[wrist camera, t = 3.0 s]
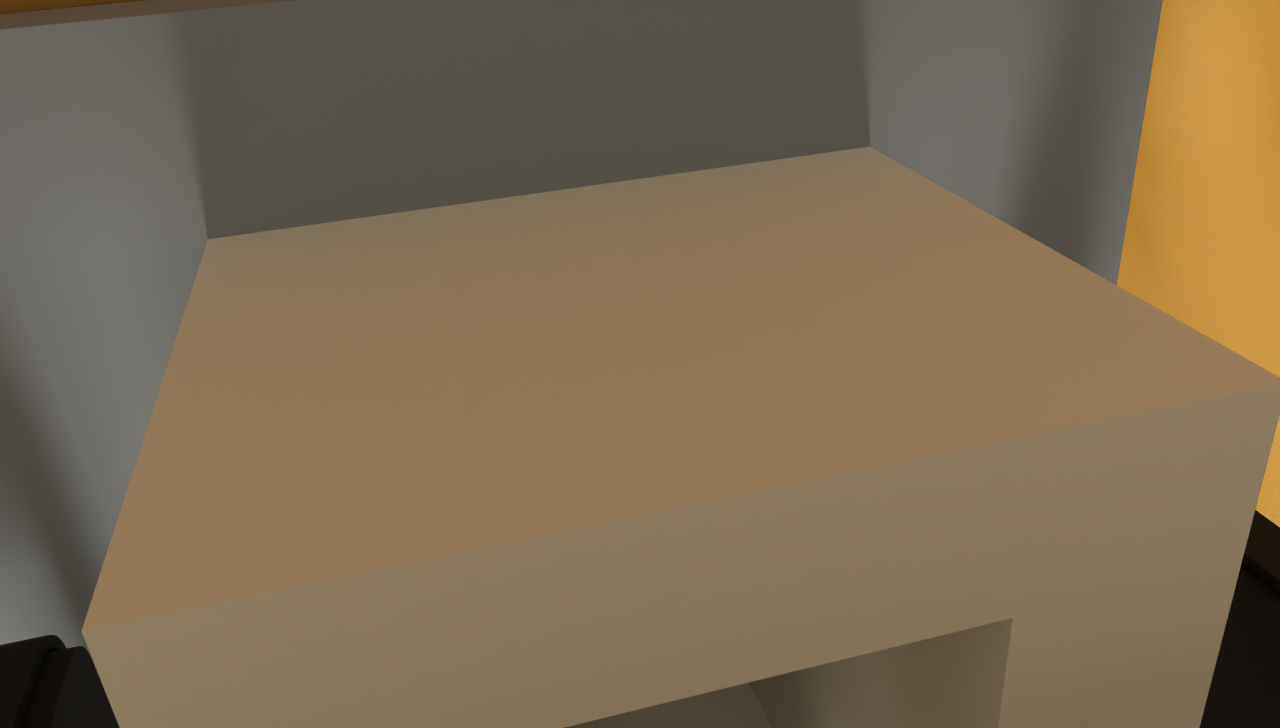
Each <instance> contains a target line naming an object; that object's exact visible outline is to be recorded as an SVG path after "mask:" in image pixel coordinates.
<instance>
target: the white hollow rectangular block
mask: <svg viewBox="0 0 1280 728" xmlns="http://www.w3.org/2000/svg"><path fill="white" fill-rule="evenodd" d="M1279 415H1280V377H1278V376H1276V375H1274V374H1273V373H1271V372H1269V371H1267V370H1265V369H1264V368H1262V367H1260V366H1258V365H1257V364H1255V363H1253V362H1251V361H1249V360H1248V359H1246V358H1244V357H1242V356H1241V355H1239V354H1237V353H1235V352H1234V351H1232V350H1230V349H1228V348H1226V347H1225V346H1223V345H1221V344H1219V343H1218V342H1216V341H1214V340H1212V339H1210V338H1209V337H1207V336H1205V335H1203V334H1202V333H1200V332H1198V331H1196V330H1195V329H1193V328H1191V327H1189V326H1187V325H1186V324H1184V323H1182V322H1180V321H1179V320H1177V319H1175V318H1173V317H1171V316H1170V315H1168V314H1166V313H1164V312H1163V311H1161V310H1159V309H1157V308H1156V307H1154V306H1152V305H1150V304H1148V303H1147V302H1145V301H1143V300H1141V299H1140V298H1138V297H1136V296H1134V295H1132V294H1131V293H1129V292H1127V291H1125V290H1124V289H1122V288H1120V287H1118V286H1117V285H1115V284H1113V283H1111V282H1109V281H1108V280H1106V279H1104V278H1102V277H1101V276H1099V275H1097V274H1095V273H1093V272H1092V271H1090V270H1088V269H1086V268H1085V267H1083V266H1081V265H1079V264H1078V263H1076V262H1074V261H1072V260H1070V259H1069V258H1067V257H1065V256H1063V255H1062V254H1060V253H1058V252H1056V251H1055V250H1053V249H1051V248H1049V247H1047V246H1046V245H1044V244H1042V243H1040V242H1039V241H1037V240H1035V239H1033V238H1031V237H1030V236H1028V235H1026V234H1024V233H1023V232H1021V231H1019V230H1017V229H1016V228H1014V227H1012V226H1010V225H1008V224H1007V223H1005V222H1003V221H1001V220H1000V219H998V218H996V217H994V216H992V215H991V214H989V213H987V212H985V211H984V210H982V209H980V208H978V207H977V206H975V205H973V204H971V203H969V202H968V201H966V200H964V199H962V198H961V197H959V196H957V195H955V194H953V193H952V192H950V191H948V190H946V189H945V188H943V187H941V186H939V185H938V184H936V183H934V182H932V181H930V180H929V179H927V178H925V177H923V176H922V175H920V174H918V173H916V172H914V171H913V170H911V169H909V168H907V167H906V166H904V165H902V164H900V163H899V162H897V161H895V160H893V159H891V158H890V157H888V156H886V155H884V154H883V153H881V152H879V151H877V150H875V149H874V148H872V147H863V148H856V149H849V150H842V151H835V152H828V153H820V154H813V155H806V156H799V157H792V158H785V159H778V160H771V161H763V162H756V163H749V164H742V165H735V166H728V167H721V168H713V169H706V170H699V171H692V172H685V173H678V174H671V175H663V176H656V177H649V178H642V179H635V180H628V181H621V182H614V183H606V184H599V185H592V186H585V187H578V188H571V189H564V190H556V191H549V192H542V193H535V194H528V195H521V196H514V197H506V198H499V199H492V200H485V201H478V202H471V203H464V204H457V205H449V206H442V207H435V208H428V209H421V210H414V211H407V212H399V213H392V214H385V215H378V216H371V217H364V218H357V219H350V220H342V221H335V222H328V223H321V224H314V225H307V226H300V227H292V228H285V229H278V230H271V231H264V232H257V233H250V234H242V235H235V236H228V237H221V238H214V239H208V241H207V244H206V247H205V250H204V253H203V256H202V259H201V262H200V265H199V269H198V272H197V275H196V278H195V281H194V284H193V287H192V290H191V293H190V296H189V300H188V303H187V306H186V309H185V312H184V315H183V318H182V321H181V324H180V327H179V331H178V334H177V337H176V340H175V343H174V346H173V349H172V352H171V355H170V358H169V361H168V365H167V368H166V371H165V374H164V377H163V380H162V383H161V386H160V389H159V392H158V396H157V399H156V402H155V405H154V408H153V411H152V414H151V417H150V420H149V423H148V427H147V430H146V433H145V436H144V439H143V442H142V445H141V448H140V451H139V454H138V457H137V461H136V464H135V467H134V470H133V473H132V476H131V479H130V482H129V485H128V488H127V492H126V495H125V498H124V501H123V504H122V507H121V510H120V513H119V516H118V519H117V523H116V526H115V529H114V532H113V535H112V538H111V541H110V544H109V547H108V550H107V554H106V557H105V560H104V563H103V566H102V569H101V572H100V575H99V578H98V581H97V584H96V588H95V591H94V594H93V597H92V600H91V603H90V606H89V609H88V612H87V615H86V619H85V622H84V625H83V628H82V631H81V632H82V634H83V637H84V639H85V642H86V644H87V646H88V649H89V651H90V654H91V656H92V659H93V661H94V664H95V666H96V669H97V671H98V674H99V676H100V679H101V681H102V684H103V686H104V689H105V691H106V694H107V696H108V699H109V701H110V704H111V706H112V708H113V711H114V713H115V716H116V718H117V721H118V723H119V726H120V728H564V727H569V726H573V725H577V724H581V723H585V722H589V721H593V720H597V719H601V718H605V717H609V716H614V715H618V714H622V713H626V712H630V711H634V710H638V709H642V708H646V707H650V706H654V705H659V704H663V703H667V702H671V701H675V700H679V699H683V698H687V697H691V696H695V695H699V694H704V693H708V692H712V691H716V690H720V689H724V688H728V687H732V686H736V685H740V684H744V683H750V685H751V687H752V689H753V691H754V693H755V695H756V697H757V699H758V701H759V703H760V705H761V707H762V709H763V711H764V713H765V715H766V717H767V719H768V721H769V723H770V725H771V727H772V728H1199V727H1200V723H1201V720H1202V716H1203V712H1204V708H1205V704H1206V700H1207V696H1208V692H1209V688H1210V684H1211V681H1212V677H1213V673H1214V669H1215V665H1216V661H1217V657H1218V653H1219V649H1220V645H1221V641H1222V638H1223V634H1224V630H1225V626H1226V622H1227V618H1228V614H1229V610H1230V606H1231V602H1232V598H1233V595H1234V591H1235V587H1236V583H1237V579H1238V575H1239V571H1240V567H1241V563H1242V559H1243V555H1244V552H1245V548H1246V544H1247V540H1248V536H1249V532H1250V528H1251V524H1252V520H1253V516H1254V512H1255V509H1256V505H1257V501H1258V497H1259V493H1260V489H1261V485H1262V481H1263V477H1264V473H1265V470H1266V466H1267V462H1268V458H1269V454H1270V450H1271V446H1272V442H1273V438H1274V434H1275V430H1276V427H1277V423H1278V419H1279Z"/></svg>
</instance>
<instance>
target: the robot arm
mask: <svg viewBox="0 0 1280 728" xmlns="http://www.w3.org/2000/svg"><path fill="white" fill-rule="evenodd" d="M0 728H120V727H119V725H118V722H117V720H116V717H115V715H114V712H113V710H112V707H111V705H110V702H109V700H108V697H107V695H106V693H105V690H104V688H103V685H102V683H101V680H100V678H99V675H98V673H97V670H96V668H95V665H94V663H93V660H92V658H91V656H90V654H89V652H88V651H87V650H86V649H85V647H83V646H76V647H71V648H66V647H65V645H64V643H63V641H62V640H61V639H60V638H59V637H58V636H56V635H46V636H41V637H36V638H32V639H27V640H22V641H17V642H12V643H7V644H3V645H0ZM1199 728H1280V527H1278V526H1277V525H1275V524H1274V523H1273V522H1271V521H1270V520H1269V519H1267V518H1266V517H1264V516H1263V515H1262V514H1260V513H1259V512H1257V511H1256V510H1255V512H1254V516H1253V520H1252V524H1251V528H1250V532H1249V536H1248V540H1247V544H1246V548H1245V552H1244V555H1243V559H1242V563H1241V567H1240V571H1239V575H1238V579H1237V583H1236V587H1235V591H1234V595H1233V598H1232V602H1231V606H1230V610H1229V614H1228V618H1227V622H1226V626H1225V630H1224V634H1223V638H1222V641H1221V645H1220V649H1219V653H1218V657H1217V661H1216V665H1215V669H1214V673H1213V677H1212V681H1211V684H1210V688H1209V692H1208V696H1207V700H1206V704H1205V708H1204V712H1203V716H1202V720H1201V723H1200V727H1199Z"/></svg>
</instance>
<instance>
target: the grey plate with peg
mask: <svg viewBox="0 0 1280 728" xmlns="http://www.w3.org/2000/svg"><path fill="white" fill-rule="evenodd" d="M1161 6H1162V0H142V1H132V2H121V3H111V4H100V5H90V6H80V7H69V8H59V9H48V10H38V11H27V12H17V13H6V14H0V645H3V644H7V643H12V642H17V641H22V640H27V639H32V638H36V637H41V636H46V635H56V636H58V637H59V638H60V639H61V640H62V641H63V643H64V645H65V647H66V648H71V647H76V646H83V647H85V649H86V650H87V651H88V652H89V654H90V651H89V649H88V646H87V644H86V642H85V639H84V637H83V634H82V632H81V631H82V628H83V625H84V622H85V619H86V615H87V612H88V609H89V606H90V603H91V600H92V597H93V594H94V591H95V588H96V584H97V581H98V578H99V575H100V572H101V569H102V566H103V563H104V560H105V557H106V554H107V550H108V547H109V544H110V541H111V538H112V535H113V532H114V529H115V526H116V523H117V519H118V516H119V513H120V510H121V507H122V504H123V501H124V498H125V495H126V492H127V488H128V485H129V482H130V479H131V476H132V473H133V470H134V467H135V464H136V461H137V457H138V454H139V451H140V448H141V445H142V442H143V439H144V436H145V433H146V430H147V427H148V423H149V420H150V417H151V414H152V411H153V408H154V405H155V402H156V399H157V396H158V392H159V389H160V386H161V383H162V380H163V377H164V374H165V371H166V368H167V365H168V361H169V358H170V355H171V352H172V349H173V346H174V343H175V340H176V337H177V334H178V331H179V327H180V324H181V321H182V318H183V315H184V312H185V309H186V306H187V303H188V300H189V296H190V293H191V290H192V287H193V284H194V281H195V278H196V275H197V272H198V269H199V265H200V262H201V259H202V256H203V253H204V250H205V247H206V244H207V241H208V239H214V238H221V237H228V236H235V235H242V234H250V233H257V232H264V231H271V230H278V229H285V228H292V227H300V226H307V225H314V224H321V223H328V222H335V221H342V220H350V219H357V218H364V217H371V216H378V215H385V214H392V213H399V212H407V211H414V210H421V209H428V208H435V207H442V206H449V205H457V204H464V203H471V202H478V201H485V200H492V199H499V198H506V197H514V196H521V195H528V194H535V193H542V192H549V191H556V190H564V189H571V188H578V187H585V186H592V185H599V184H606V183H614V182H621V181H628V180H635V179H642V178H649V177H656V176H663V175H671V174H678V173H685V172H692V171H699V170H706V169H713V168H721V167H728V166H735V165H742V164H749V163H756V162H763V161H771V160H778V159H785V158H792V157H799V156H806V155H813V154H820V153H828V152H835V151H842V150H849V149H856V148H863V147H872V148H874V149H875V150H877V151H879V152H881V153H883V154H884V155H886V156H888V157H890V158H891V159H893V160H895V161H897V162H899V163H900V164H902V165H904V166H906V167H907V168H909V169H911V170H913V171H914V172H916V173H918V174H920V175H922V176H923V177H925V178H927V179H929V180H930V181H932V182H934V183H936V184H938V185H939V186H941V187H943V188H945V189H946V190H948V191H950V192H952V193H953V194H955V195H957V196H959V197H961V198H962V199H964V200H966V201H968V202H969V203H971V204H973V205H975V206H977V207H978V208H980V209H982V210H984V211H985V212H987V213H989V214H991V215H992V216H994V217H996V218H998V219H1000V220H1001V221H1003V222H1005V223H1007V224H1008V225H1010V226H1012V227H1014V228H1016V229H1017V230H1019V231H1021V232H1023V233H1024V234H1026V235H1028V236H1030V237H1031V238H1033V239H1035V240H1037V241H1039V242H1040V243H1042V244H1044V245H1046V246H1047V247H1049V248H1051V249H1053V250H1055V251H1056V252H1058V253H1060V254H1062V255H1063V256H1065V257H1067V258H1069V259H1070V260H1072V261H1074V262H1076V263H1078V264H1079V265H1081V266H1083V267H1085V268H1086V269H1088V270H1090V271H1092V272H1093V273H1095V274H1097V275H1099V276H1101V277H1102V278H1104V279H1106V280H1108V281H1109V282H1111V283H1113V284H1115V285H1117V279H1118V273H1119V266H1120V260H1121V254H1122V248H1123V242H1124V235H1125V229H1126V223H1127V217H1128V211H1129V204H1130V198H1131V192H1132V186H1133V180H1134V173H1135V167H1136V161H1137V155H1138V149H1139V143H1140V136H1141V130H1142V124H1143V118H1144V112H1145V105H1146V99H1147V93H1148V87H1149V81H1150V74H1151V68H1152V62H1153V56H1154V50H1155V44H1156V37H1157V31H1158V25H1159V19H1160V13H1161ZM90 656H91V654H90ZM91 658H92V656H91ZM92 660H93V659H92ZM93 663H94V661H93ZM94 665H95V664H94ZM95 668H96V666H95ZM96 670H97V669H96ZM97 673H98V671H97ZM98 675H99V674H98ZM99 678H100V676H99ZM100 680H101V679H100ZM101 683H102V681H101ZM102 685H103V684H102ZM103 688H104V686H103ZM104 690H105V689H104ZM105 693H106V691H105ZM106 695H107V694H106ZM107 697H108V696H107ZM108 700H109V699H108ZM109 702H110V701H109ZM110 705H111V704H110ZM111 707H112V706H111ZM112 710H113V708H112ZM113 712H114V711H113ZM114 715H115V713H114ZM115 717H116V716H115ZM116 720H117V718H116ZM117 722H118V721H117ZM118 725H119V723H118ZM119 727H120V726H119ZM564 728H772V727H771V725H770V723H769V721H768V719H767V717H766V715H765V713H764V711H763V709H762V707H761V705H760V703H759V701H758V699H757V697H756V695H755V693H754V691H753V689H752V687H751V685H750V683H744V684H740V685H736V686H732V687H728V688H724V689H720V690H716V691H712V692H708V693H704V694H699V695H695V696H691V697H687V698H683V699H679V700H675V701H671V702H667V703H663V704H659V705H654V706H650V707H646V708H642V709H638V710H634V711H630V712H626V713H622V714H618V715H614V716H609V717H605V718H601V719H597V720H593V721H589V722H585V723H581V724H577V725H573V726H569V727H564Z"/></svg>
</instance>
